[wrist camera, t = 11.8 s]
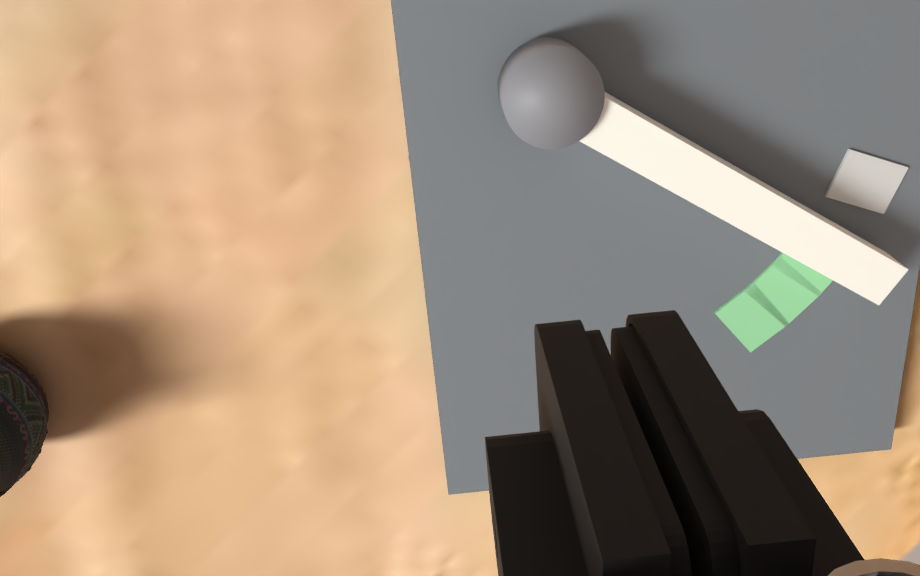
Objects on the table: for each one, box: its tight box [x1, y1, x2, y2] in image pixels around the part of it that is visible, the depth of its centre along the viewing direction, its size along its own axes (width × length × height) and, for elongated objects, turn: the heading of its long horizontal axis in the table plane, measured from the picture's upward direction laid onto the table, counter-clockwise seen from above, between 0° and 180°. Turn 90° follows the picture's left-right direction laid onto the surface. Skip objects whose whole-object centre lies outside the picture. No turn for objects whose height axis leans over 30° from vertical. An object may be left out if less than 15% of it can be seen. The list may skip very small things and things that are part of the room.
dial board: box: [391, 0, 920, 494], centre depth 40 cm, size 26×24×2 cm
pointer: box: [498, 37, 908, 305], centre depth 37 cm, size 20×4×2 cm, turn 61°
